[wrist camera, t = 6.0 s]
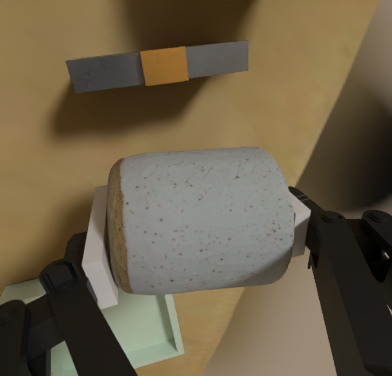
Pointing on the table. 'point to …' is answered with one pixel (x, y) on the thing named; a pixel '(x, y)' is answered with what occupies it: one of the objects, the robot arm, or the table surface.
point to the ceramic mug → (198, 220)
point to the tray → (119, 326)
